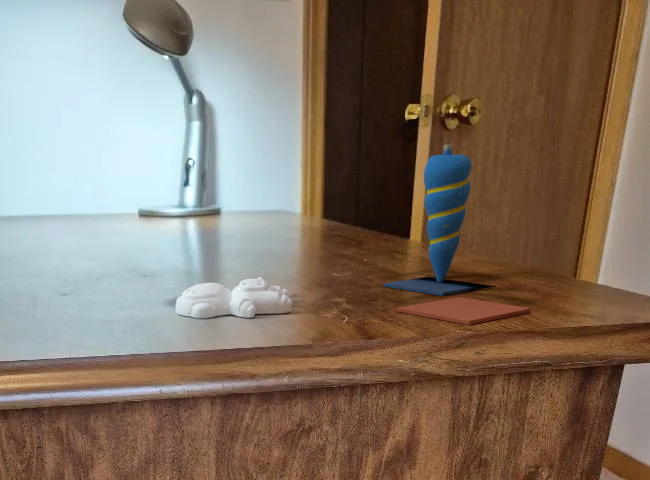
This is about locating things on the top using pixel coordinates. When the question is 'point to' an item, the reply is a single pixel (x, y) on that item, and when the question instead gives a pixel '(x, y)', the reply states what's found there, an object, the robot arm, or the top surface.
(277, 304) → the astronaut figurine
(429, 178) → the ornament
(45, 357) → the top surface
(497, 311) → the terracotta pad
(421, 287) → the blue pad
